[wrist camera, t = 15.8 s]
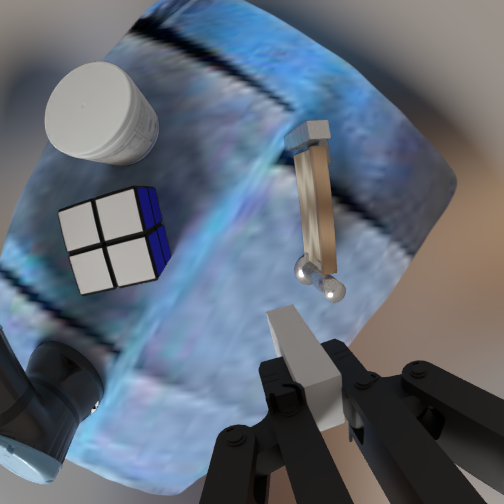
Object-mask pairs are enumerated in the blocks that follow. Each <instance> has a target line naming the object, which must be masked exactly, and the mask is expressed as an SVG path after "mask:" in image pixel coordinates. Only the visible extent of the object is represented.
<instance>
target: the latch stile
mask: <svg viewBox="0 0 504 504" xmlns="http://www.w3.org/2000/svg"><path fill="white" fill-rule="evenodd" d="M330 138H331V135H330V129H329V123H328V120H312V121H306V122H304V123H303V124H301V125H300V126H299V127H297V128H296V129H294V130H293V131H292V132H290V133H289V134H287V135H286V136H285V137H284V142H285V148H286V151H295V150H303V149H306V148H308V150H309V147H311V146H325V148H326V155H327V163H328V164H331V158H330V151H329V144H328V140H327V139H330Z"/></svg>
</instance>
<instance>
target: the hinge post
mask: <svg viewBox="0 0 504 504" xmlns="http://www.w3.org/2000/svg"><path fill="white" fill-rule="evenodd" d="M294 273H295V276H296V278H297V280H298V281H299V282H301V283H302V284H305V285H311V284H313V285H314V286H315V287H316V288H317V289H318V290H319V291H320V292H321V293H322V294H323V295H324V296H325V297H326V298H327V299H328V300H329V301H330V302H333V303H336V302H339V301H341V300H342V299H343V298H344V296H345V294H346V288H345V286H344V285H343V284H342V283H341V282H339V281H338V280H337V279H335V278H334V277H333V276H331V275H330V274H327V275H324V274H322V273H321V271H320V270H319V269H318V268H317V266H316V265H314V264H313V263H312V262H310V261H307V260H306V258H305V255H304V256H302V257H301V258H300V259H299V260H298V261H297V262H296V264H295V268H294Z"/></svg>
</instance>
